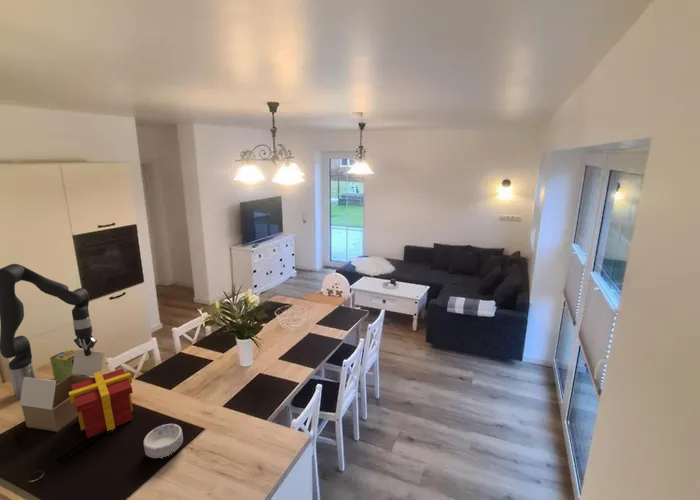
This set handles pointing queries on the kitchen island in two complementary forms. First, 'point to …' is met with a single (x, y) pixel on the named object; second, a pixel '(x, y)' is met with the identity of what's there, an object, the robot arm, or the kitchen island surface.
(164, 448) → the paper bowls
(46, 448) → the kitchen island surface
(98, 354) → the far flap
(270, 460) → the kitchen island surface
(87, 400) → the gift box
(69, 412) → the carton
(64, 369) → the protein box
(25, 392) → the near flap
